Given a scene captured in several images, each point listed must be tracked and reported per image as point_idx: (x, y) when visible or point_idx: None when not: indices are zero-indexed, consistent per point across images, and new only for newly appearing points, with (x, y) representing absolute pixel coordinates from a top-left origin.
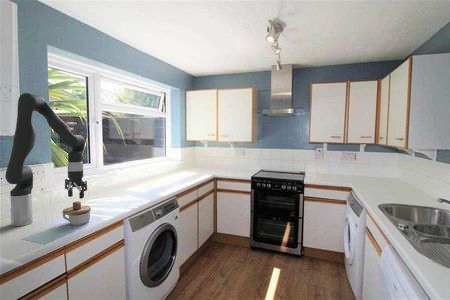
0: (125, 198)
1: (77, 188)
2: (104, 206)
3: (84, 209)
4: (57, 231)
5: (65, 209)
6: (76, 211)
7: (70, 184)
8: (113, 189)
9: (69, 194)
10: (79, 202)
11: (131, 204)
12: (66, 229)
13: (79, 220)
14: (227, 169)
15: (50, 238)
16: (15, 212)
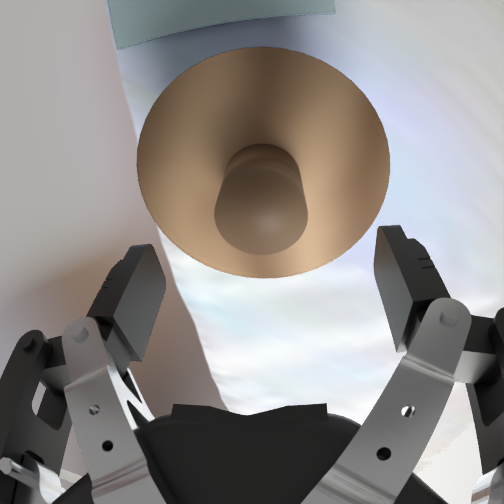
0: (357, 417)
1: (94, 375)
2: (372, 356)
3: (183, 203)
4: None
5: (363, 122)
6: (188, 132)
7: (364, 470)
8: (458, 424)
9: (390, 254)
10: (222, 227)
11: (274, 399)
12: (196, 23)
13: None
14: None
15: None
16: None
